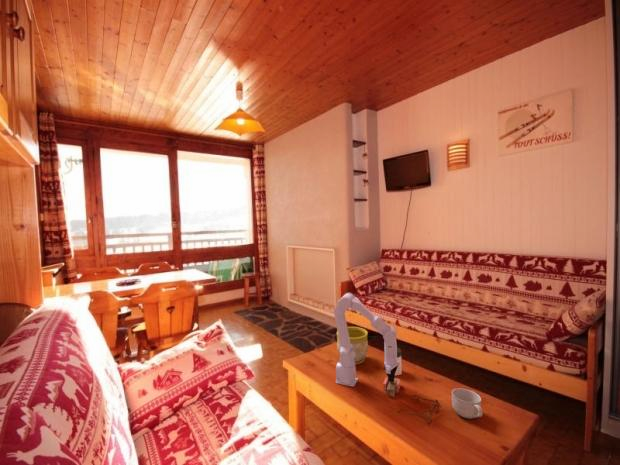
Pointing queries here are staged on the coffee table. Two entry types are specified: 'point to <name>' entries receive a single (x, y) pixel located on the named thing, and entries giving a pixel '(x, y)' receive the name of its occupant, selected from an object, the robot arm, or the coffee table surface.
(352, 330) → the flowerpot
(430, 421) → the glasses
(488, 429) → the coffee table surface
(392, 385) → the beige rectangular block
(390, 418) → the coffee table surface
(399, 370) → the jar
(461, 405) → the teacup
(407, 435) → the coffee table surface
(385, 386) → the end cap
